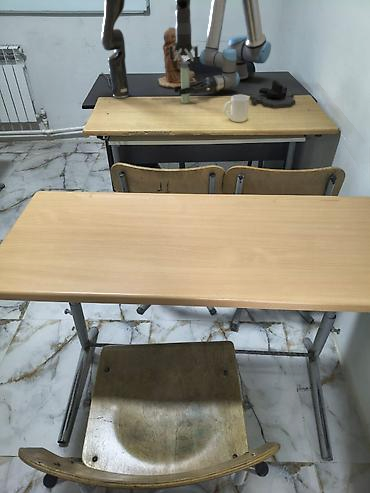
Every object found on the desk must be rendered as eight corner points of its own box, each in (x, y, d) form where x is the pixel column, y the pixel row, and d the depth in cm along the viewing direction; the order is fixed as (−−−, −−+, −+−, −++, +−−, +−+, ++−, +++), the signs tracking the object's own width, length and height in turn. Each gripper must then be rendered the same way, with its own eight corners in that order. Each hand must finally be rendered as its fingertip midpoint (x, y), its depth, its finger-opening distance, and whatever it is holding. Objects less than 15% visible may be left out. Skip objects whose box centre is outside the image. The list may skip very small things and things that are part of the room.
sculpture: (197, 88, 213) (196, 30, 194) (156, 89, 214) (152, 31, 194) (196, 75, 234) (196, 22, 215) (159, 76, 235) (156, 23, 215)
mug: (224, 123, 170) (225, 101, 163) (221, 117, 176) (221, 95, 170) (249, 121, 171) (251, 99, 165) (244, 115, 177) (246, 93, 171)
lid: (190, 67, 182) (190, 63, 181) (180, 67, 182) (180, 63, 181) (189, 64, 186) (189, 61, 185) (179, 65, 186) (179, 61, 185)
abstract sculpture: (259, 90, 177) (247, 79, 193) (257, 109, 183) (245, 97, 198) (307, 86, 180) (291, 76, 195) (303, 105, 186) (288, 93, 201)
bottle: (180, 101, 197) (179, 63, 184) (187, 100, 198) (187, 62, 186) (183, 104, 193) (182, 65, 181) (191, 102, 195) (190, 64, 182)
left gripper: (167, 33, 172) (169, 70, 182) (196, 33, 170) (196, 71, 180) (170, 30, 177) (172, 66, 188) (199, 30, 175) (199, 67, 186)
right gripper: (222, 95, 194) (184, 103, 186) (205, 86, 206) (169, 94, 198) (222, 80, 189) (184, 87, 181) (205, 72, 201) (168, 79, 193)
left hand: (184, 68), depth 184 cm, fingers open, 7 cm apart
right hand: (176, 91), depth 189 cm, fingers closed on bottle, 5 cm apart
